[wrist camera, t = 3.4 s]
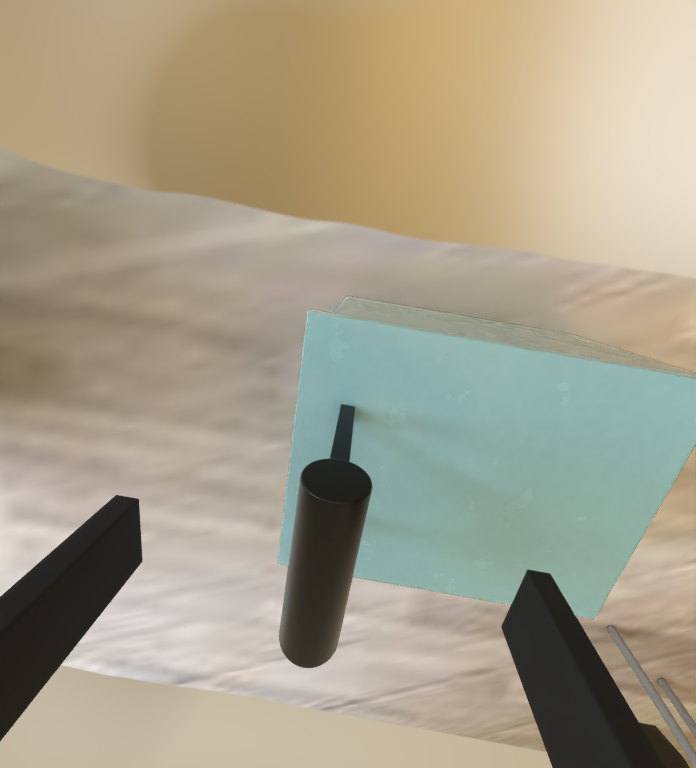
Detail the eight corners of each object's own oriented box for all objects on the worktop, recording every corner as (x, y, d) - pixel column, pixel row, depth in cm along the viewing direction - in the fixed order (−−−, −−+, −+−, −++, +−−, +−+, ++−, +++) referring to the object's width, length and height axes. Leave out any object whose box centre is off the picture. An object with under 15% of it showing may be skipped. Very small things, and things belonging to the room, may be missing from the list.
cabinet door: (280, 553, 20) (226, 723, 13) (309, 308, 15) (251, 346, 8) (586, 607, 20) (717, 811, 12) (714, 378, 15) (1056, 486, 8)
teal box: (321, 459, 30) (296, 555, 20) (346, 295, 26) (331, 312, 15) (512, 492, 30) (585, 606, 20) (574, 334, 26) (713, 378, 15)
